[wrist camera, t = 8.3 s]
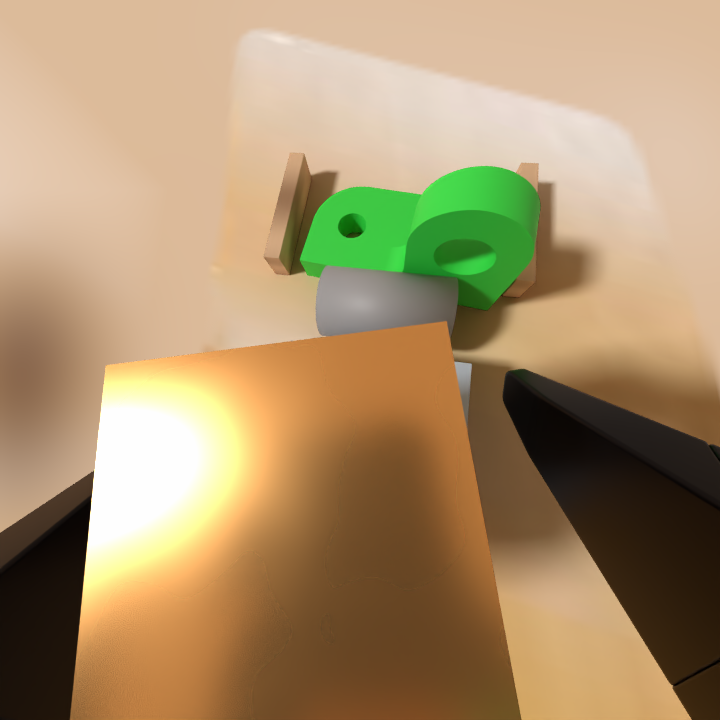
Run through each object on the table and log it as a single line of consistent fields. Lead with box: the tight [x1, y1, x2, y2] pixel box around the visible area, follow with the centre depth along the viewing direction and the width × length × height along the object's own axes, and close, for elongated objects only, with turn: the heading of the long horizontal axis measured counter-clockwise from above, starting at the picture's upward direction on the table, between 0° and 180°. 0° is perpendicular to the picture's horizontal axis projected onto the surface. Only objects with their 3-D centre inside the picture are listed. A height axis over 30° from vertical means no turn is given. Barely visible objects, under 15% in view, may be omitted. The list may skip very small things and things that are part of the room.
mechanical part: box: [300, 166, 540, 310], centre depth 15 cm, size 12×6×8 cm, turn 75°
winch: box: [316, 265, 472, 427], centre depth 15 cm, size 14×9×4 cm, turn 171°
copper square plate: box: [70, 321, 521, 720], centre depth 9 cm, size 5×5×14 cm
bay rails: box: [264, 153, 538, 298], centre depth 18 cm, size 8×16×2 cm, turn 81°
